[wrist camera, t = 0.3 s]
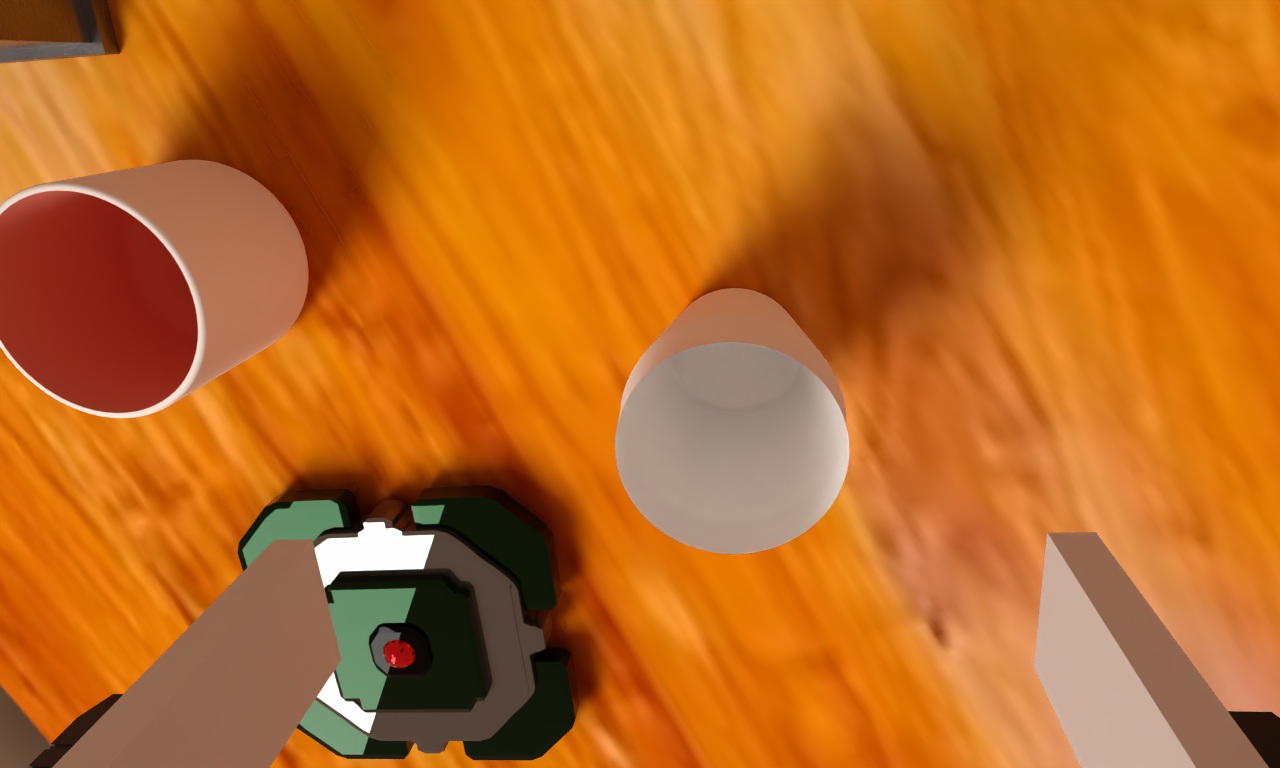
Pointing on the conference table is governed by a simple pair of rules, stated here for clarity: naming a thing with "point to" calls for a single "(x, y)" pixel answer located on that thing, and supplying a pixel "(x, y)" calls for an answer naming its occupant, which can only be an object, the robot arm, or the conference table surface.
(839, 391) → the cup
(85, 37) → the housing
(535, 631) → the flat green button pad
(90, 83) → the conference table surface
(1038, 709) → the conference table surface
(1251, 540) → the conference table surface
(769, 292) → the conference table surface
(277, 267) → the cup
